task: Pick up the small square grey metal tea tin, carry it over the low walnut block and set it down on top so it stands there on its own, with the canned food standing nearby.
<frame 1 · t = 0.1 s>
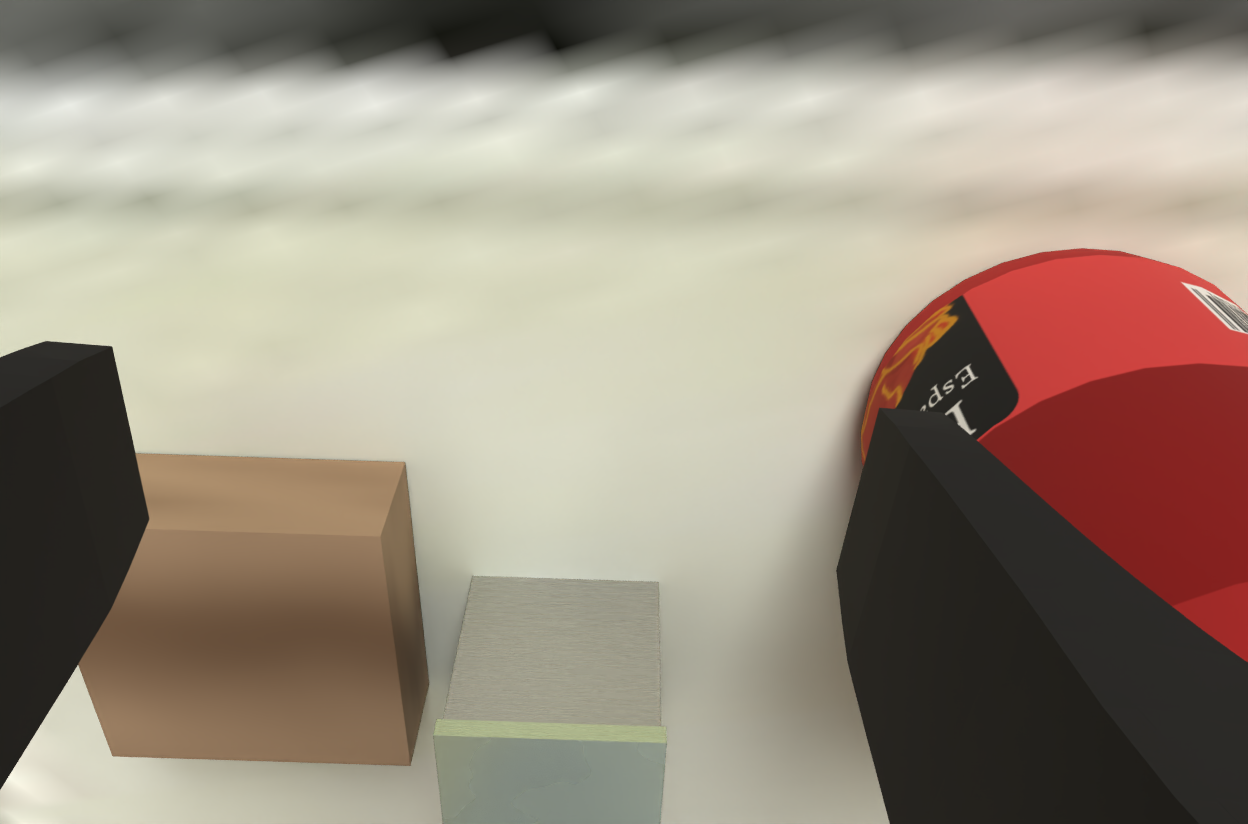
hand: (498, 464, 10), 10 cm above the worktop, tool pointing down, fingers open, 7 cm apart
canned food: (1041, 399, 21), on the worktop
tea tin: (565, 643, 25), on the worktop
walnut block: (270, 577, 24), on the worktop
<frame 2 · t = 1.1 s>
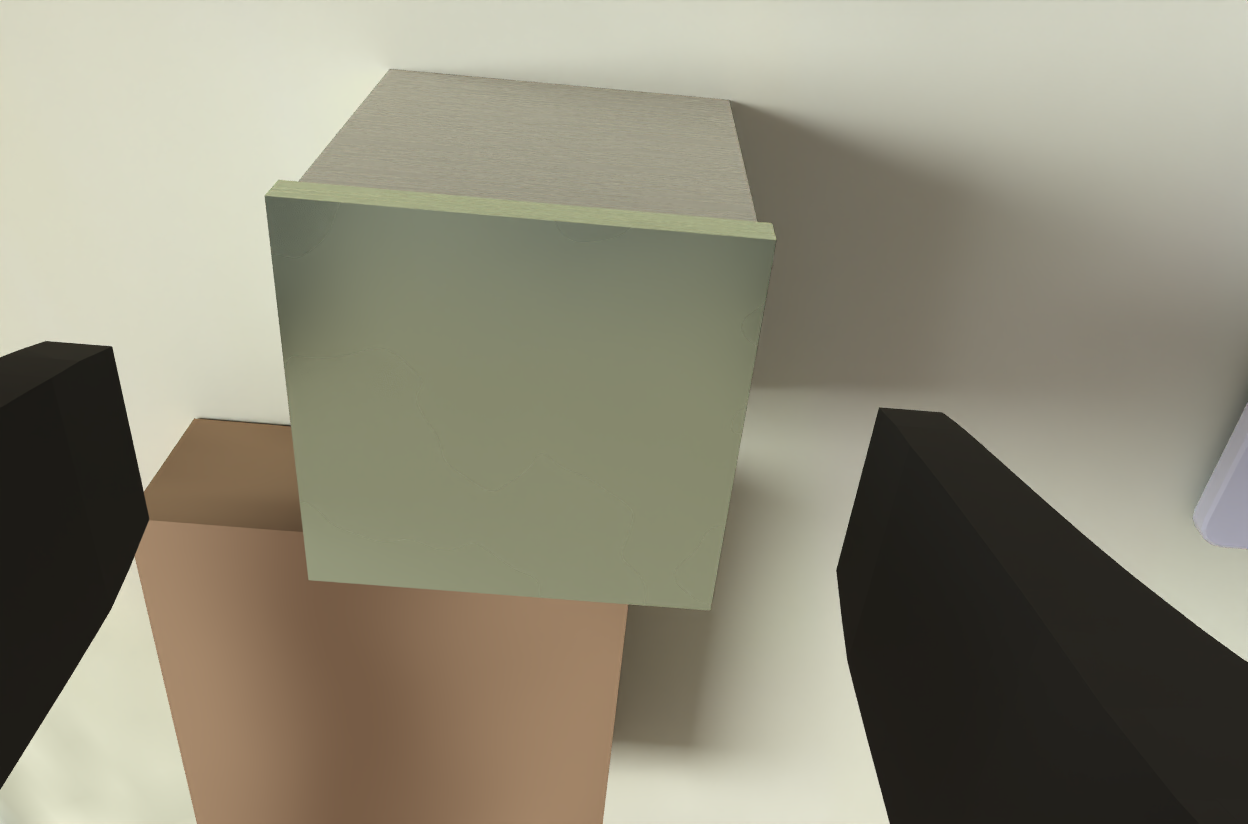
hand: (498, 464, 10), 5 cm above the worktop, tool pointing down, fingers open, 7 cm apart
tea tin: (552, 240, 14), on the worktop
walnut block: (421, 598, 18), on the worktop
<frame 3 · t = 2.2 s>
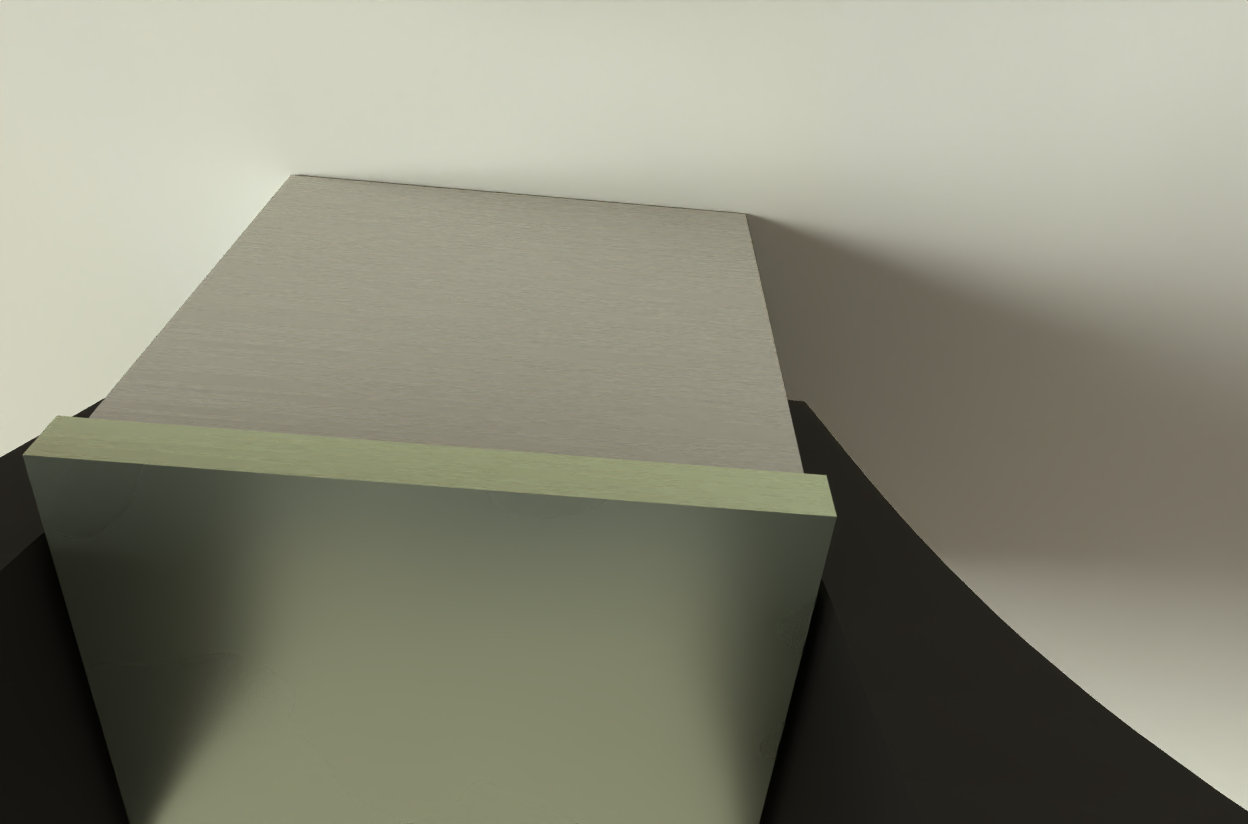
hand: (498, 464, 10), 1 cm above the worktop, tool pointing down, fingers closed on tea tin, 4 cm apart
tea tin: (514, 387, 11), on the worktop, touching gripper
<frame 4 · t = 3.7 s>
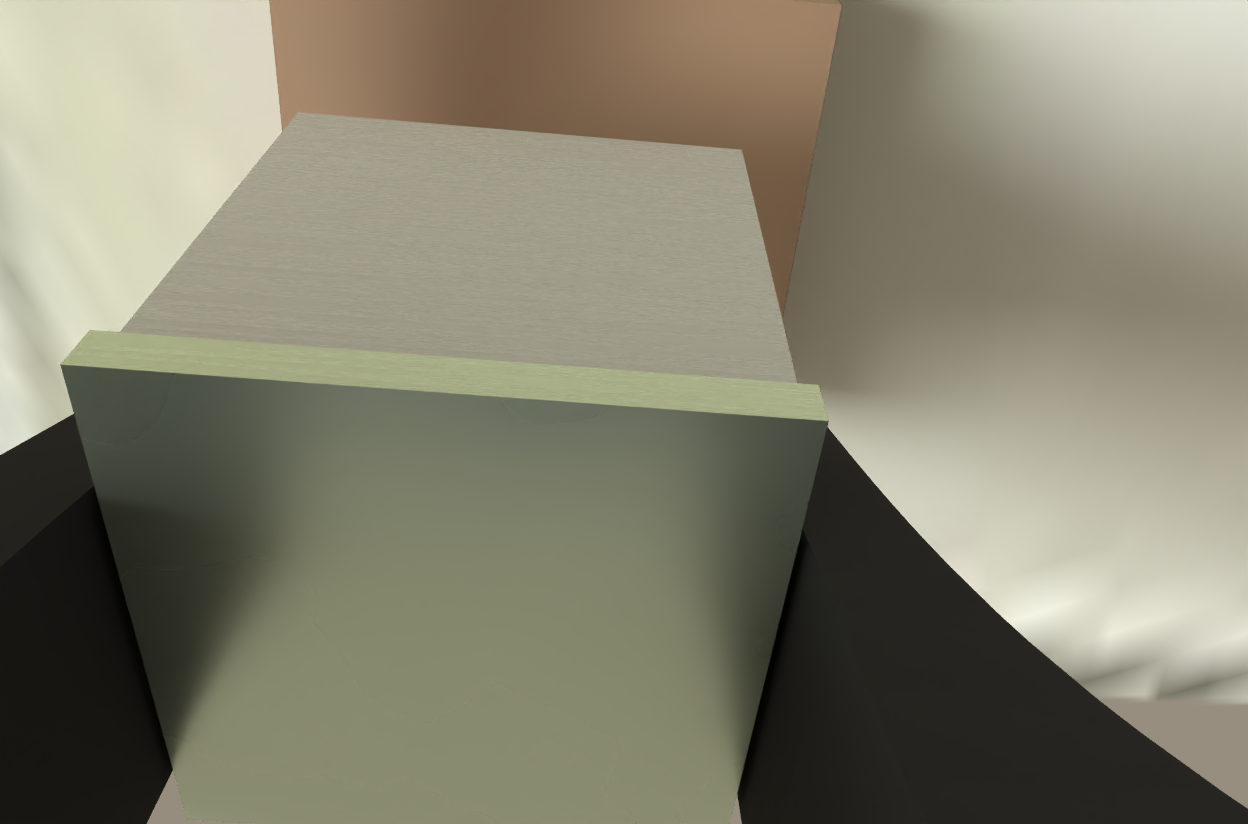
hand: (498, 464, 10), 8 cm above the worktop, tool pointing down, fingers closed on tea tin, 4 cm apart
tea tin: (516, 322, 11), point 6 cm above the worktop, touching gripper
walnut block: (556, 182, 16), on the worktop
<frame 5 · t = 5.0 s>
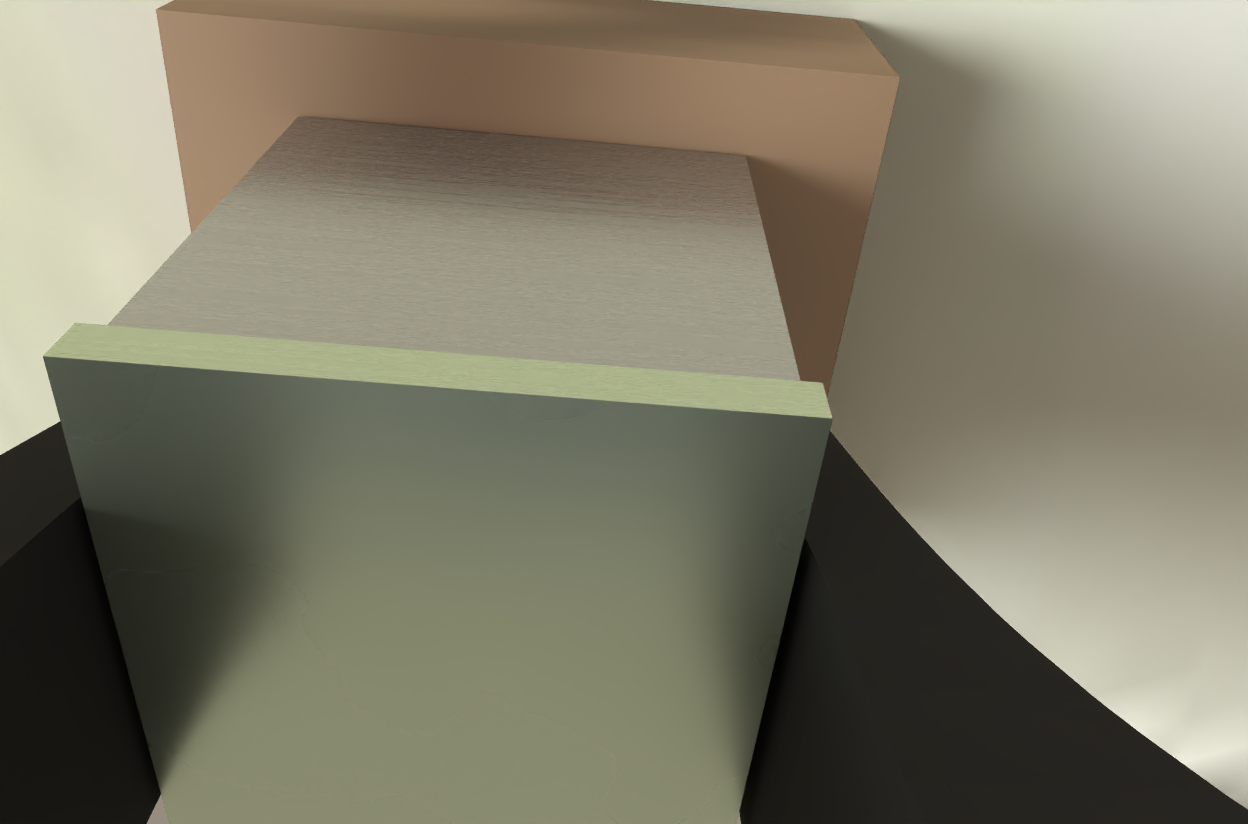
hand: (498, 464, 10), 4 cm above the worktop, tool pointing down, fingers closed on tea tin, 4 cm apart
tea tin: (517, 331, 11), point 3 cm above the worktop, touching gripper, walnut block
walnut block: (540, 269, 14), on the worktop
when the fingers open (4 cm above the worktop, at t = 5.5 s): tea tin stays where it is, resting on walnut block.
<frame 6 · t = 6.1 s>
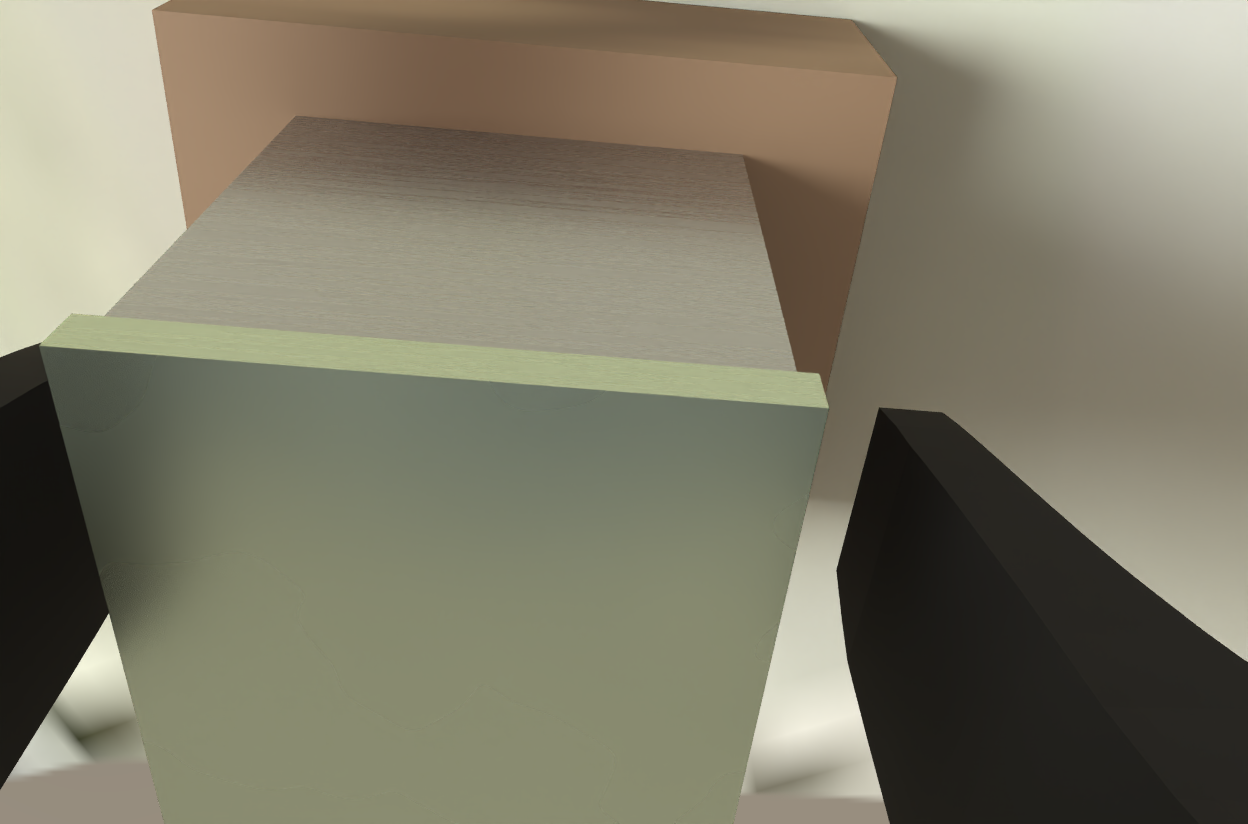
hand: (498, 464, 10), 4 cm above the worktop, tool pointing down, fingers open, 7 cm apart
tea tin: (515, 331, 11), point 2 cm above the worktop, touching walnut block
walnut block: (537, 270, 14), on the worktop
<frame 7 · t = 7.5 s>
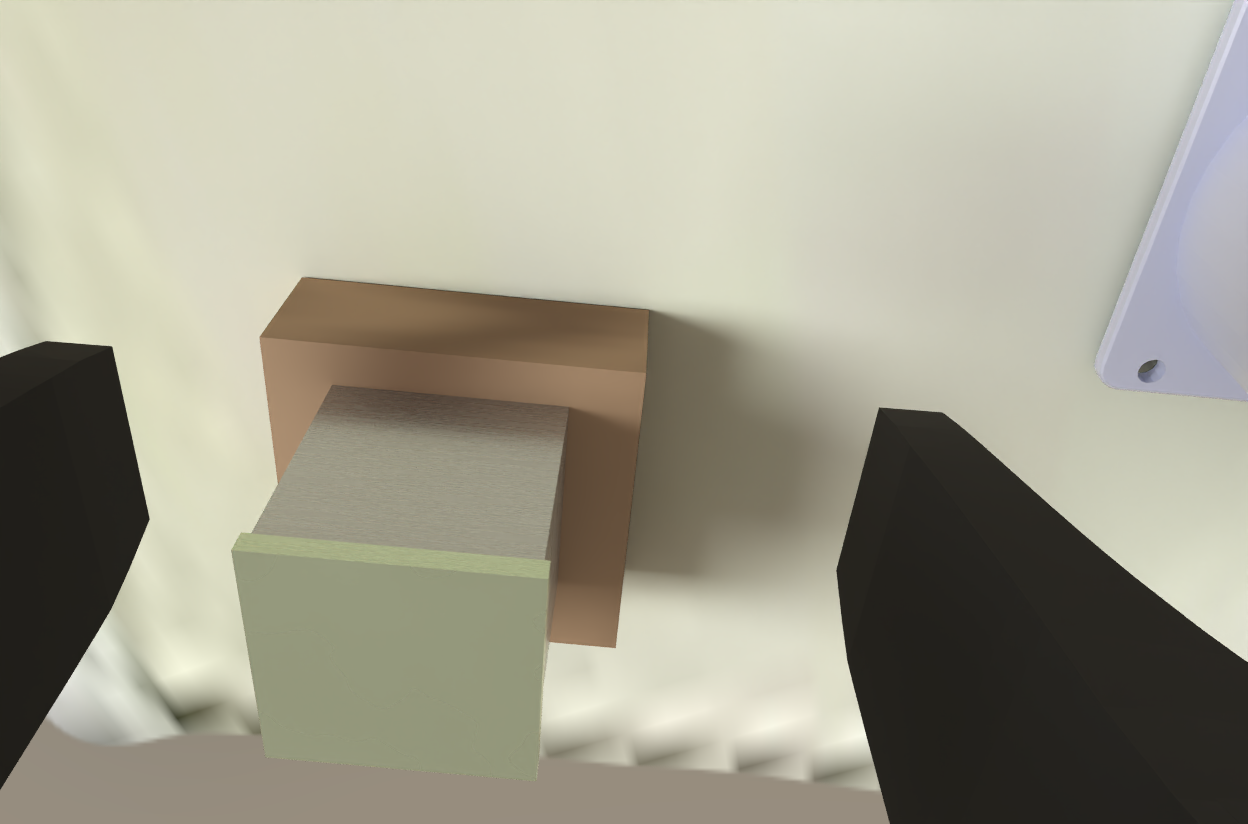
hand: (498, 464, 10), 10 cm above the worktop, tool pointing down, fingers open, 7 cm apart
tea tin: (451, 490, 20), point 2 cm above the worktop, touching walnut block
walnut block: (475, 436, 22), on the worktop
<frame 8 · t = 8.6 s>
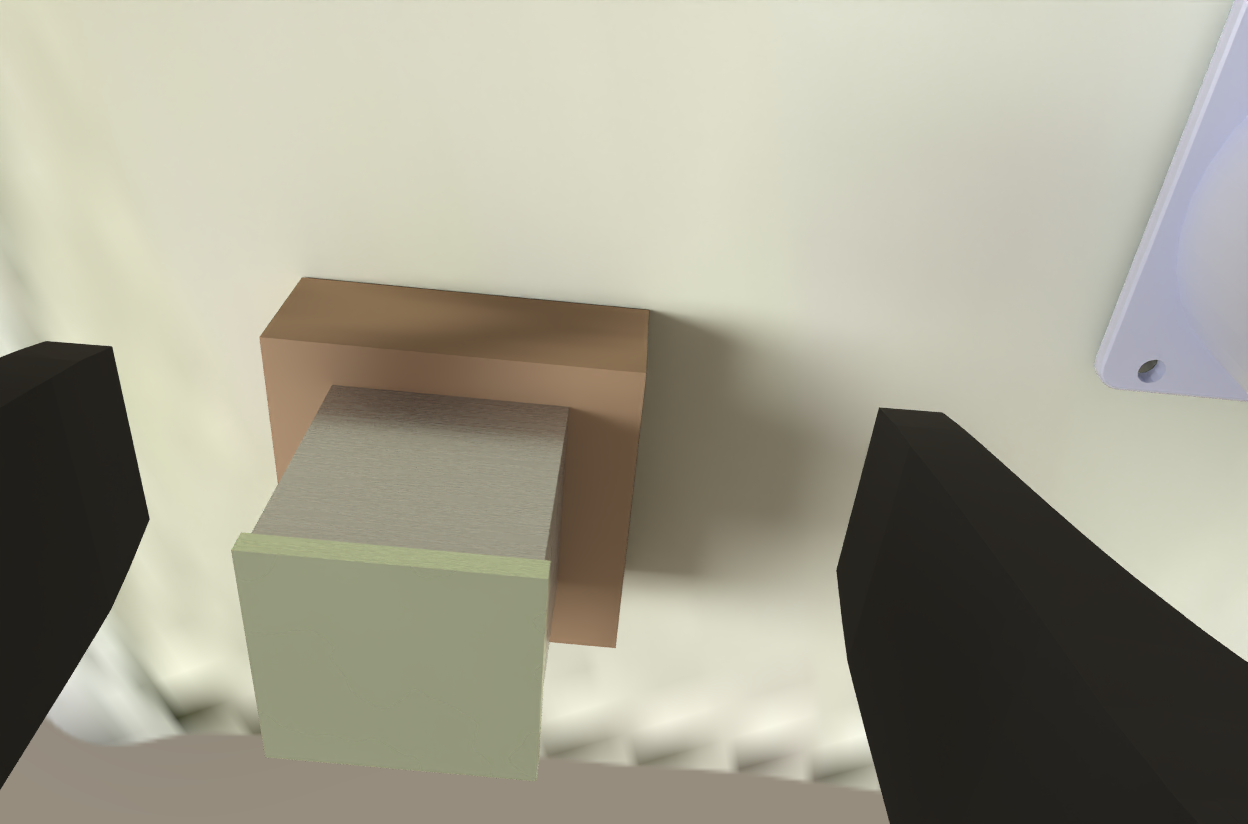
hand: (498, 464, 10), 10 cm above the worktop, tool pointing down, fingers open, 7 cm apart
tea tin: (451, 490, 20), point 2 cm above the worktop, touching walnut block
walnut block: (475, 436, 22), on the worktop
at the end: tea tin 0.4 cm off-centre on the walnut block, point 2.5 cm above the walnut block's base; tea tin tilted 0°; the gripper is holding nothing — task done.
